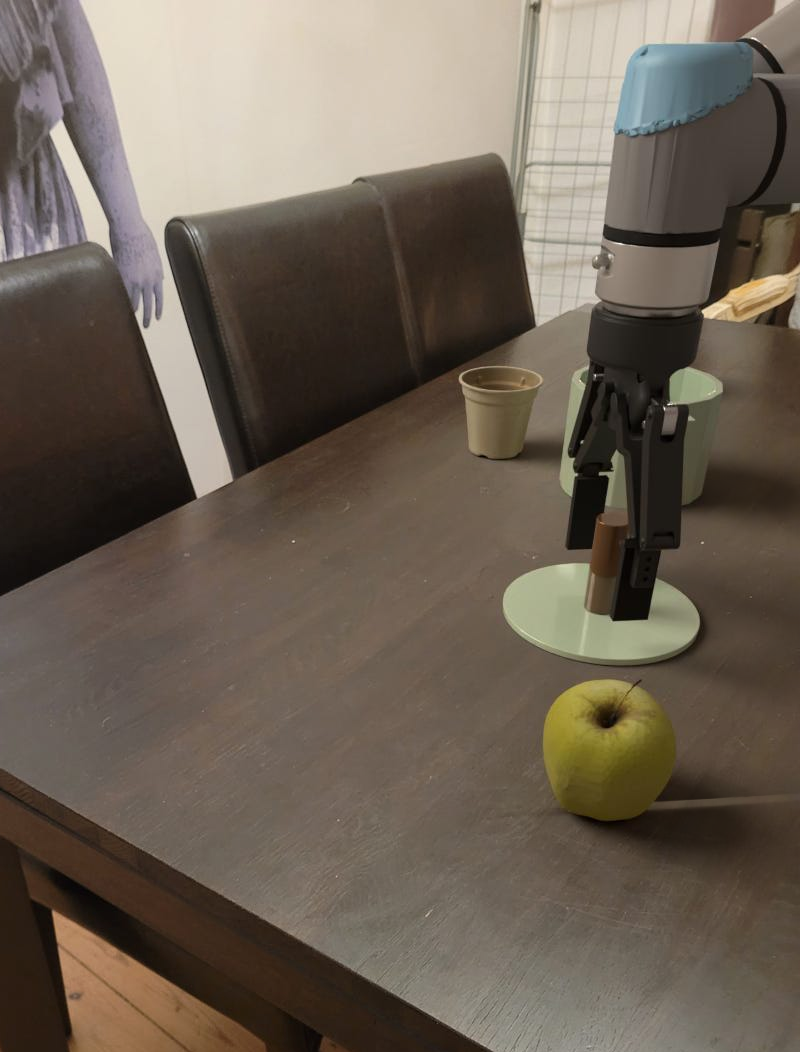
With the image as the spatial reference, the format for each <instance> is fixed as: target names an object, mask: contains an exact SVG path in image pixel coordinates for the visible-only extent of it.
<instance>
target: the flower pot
mask: <svg viewBox="0 0 800 1052" xmlns="http://www.w3.org/2000/svg"><path fill="white" fill-rule="evenodd" d="M458 382H459V384H460V385H461V387H462V394H463V396H464V401H465V402H464V403H465V413H466V425H467V438H468V450H469V451H470V452H471V453H472V454H474V455H476V456H478V457H480V456H485V457H487V458H488V459H491V460H503V459H511V458H515V457H516V456H517V455H518V454H520V453H522V451H523V449H524V443H525V439H526V435H527V432H528V431H527V430H528V427H529V422H530V419H531V413H532V409H533V405H534V401H535V399H536V398H537V396H538V394H539V389H540V388H541V387H542V386H543V385H544V378H543V377H542V375H540V373H537V372H535V371H533V370H530V369H526V368H522V367H517V366H506V365H505V366H504V365H503V366H502V365H494V366H493V365H492V366H491V365H489V366H481V367H476V368H471V369H469V370H466V371H463V372H461V373H460V374H459V376H458Z"/></svg>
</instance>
